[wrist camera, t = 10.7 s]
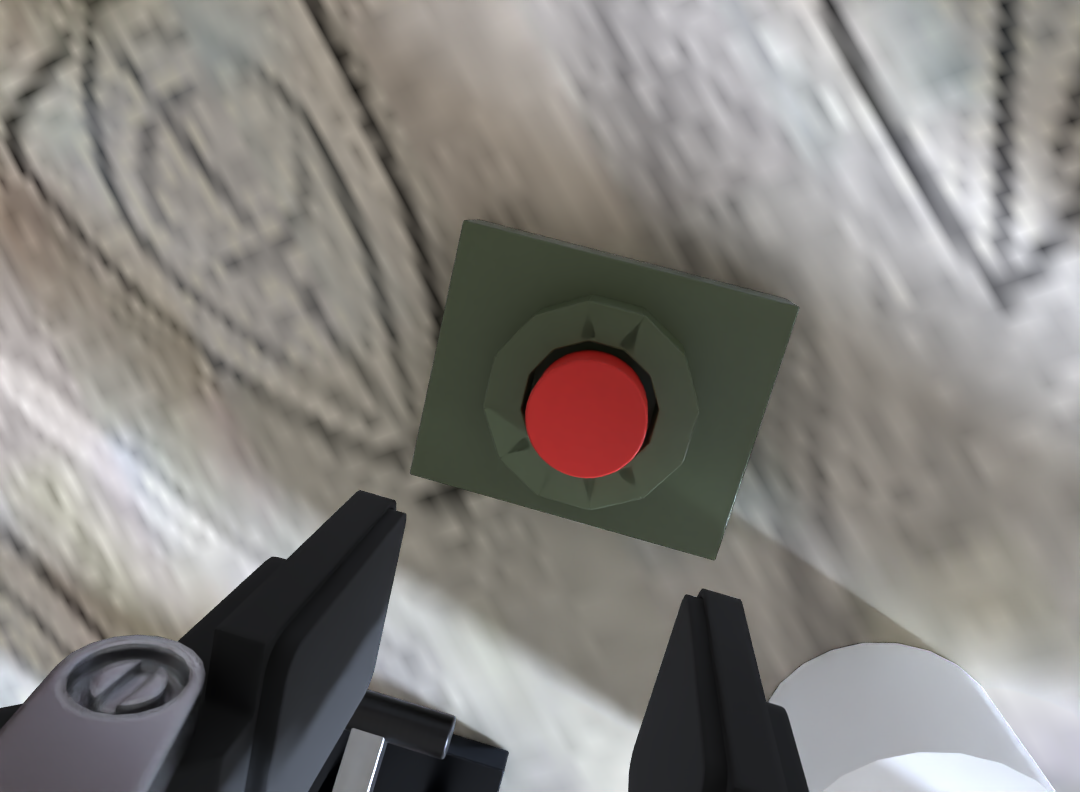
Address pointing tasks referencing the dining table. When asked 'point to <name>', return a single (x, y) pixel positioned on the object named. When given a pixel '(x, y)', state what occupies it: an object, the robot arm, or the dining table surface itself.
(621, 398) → the red button
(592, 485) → the button housing
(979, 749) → the cylinder with rectangular tab
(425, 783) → the switch bracket
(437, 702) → the dining table surface
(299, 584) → the robot arm
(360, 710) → the switch lever
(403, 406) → the dining table surface
